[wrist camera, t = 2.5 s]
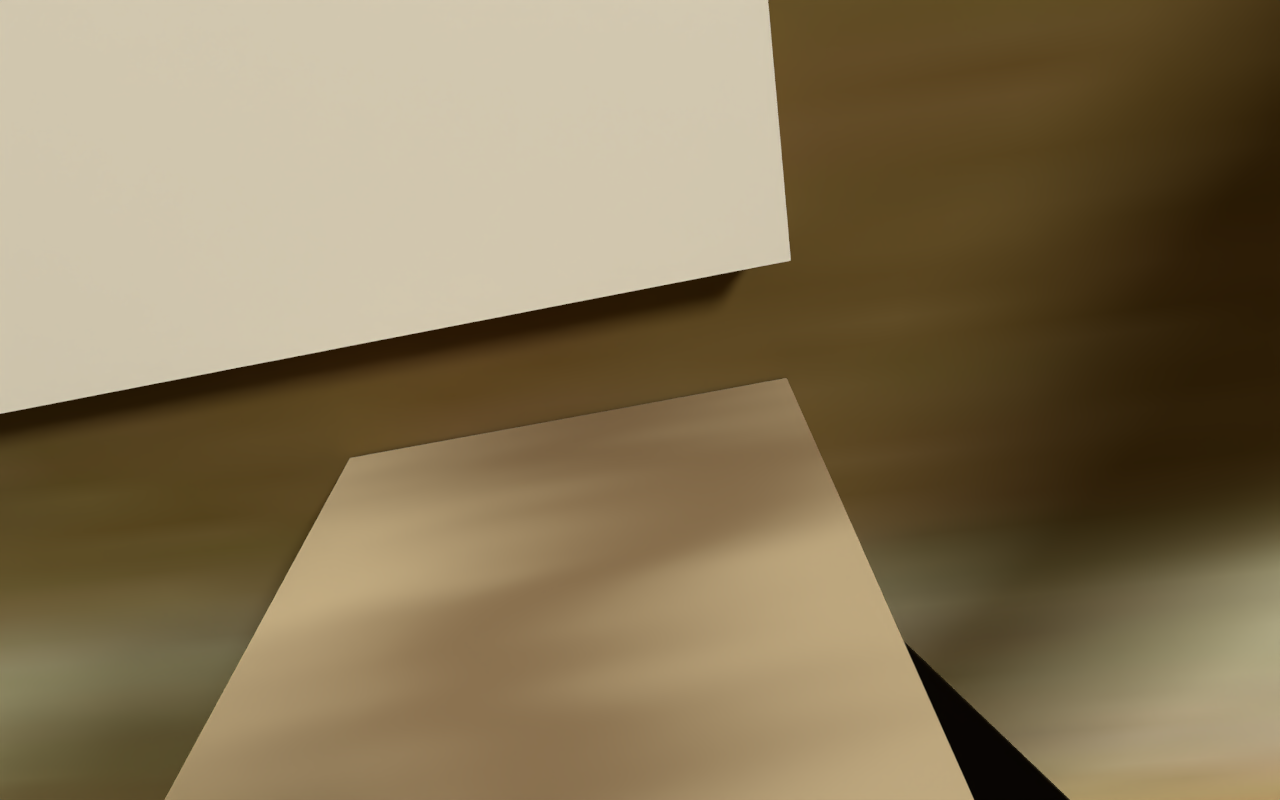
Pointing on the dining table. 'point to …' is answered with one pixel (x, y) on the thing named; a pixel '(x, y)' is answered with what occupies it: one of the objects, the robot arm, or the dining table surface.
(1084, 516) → the dining table surface
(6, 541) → the dining table surface
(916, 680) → the cardboard box
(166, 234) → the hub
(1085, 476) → the dining table surface
